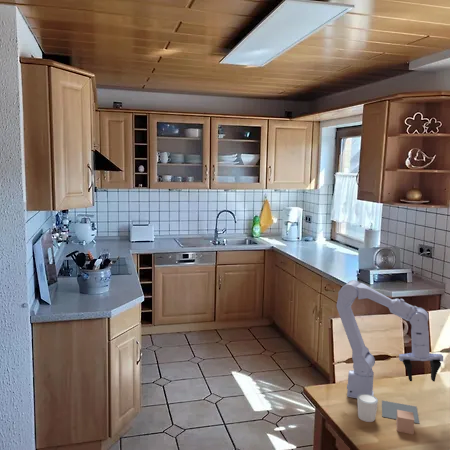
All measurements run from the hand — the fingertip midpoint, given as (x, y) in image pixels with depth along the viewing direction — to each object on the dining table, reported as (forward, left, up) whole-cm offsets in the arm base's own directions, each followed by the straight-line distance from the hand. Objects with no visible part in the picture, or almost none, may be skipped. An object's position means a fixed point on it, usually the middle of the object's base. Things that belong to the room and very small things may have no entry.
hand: (421, 380), depth 155 cm
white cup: (-18, -12, -12) cm, 25 cm away
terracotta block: (-6, -15, -11) cm, 20 cm away
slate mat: (-7, -4, -11) cm, 14 cm away
